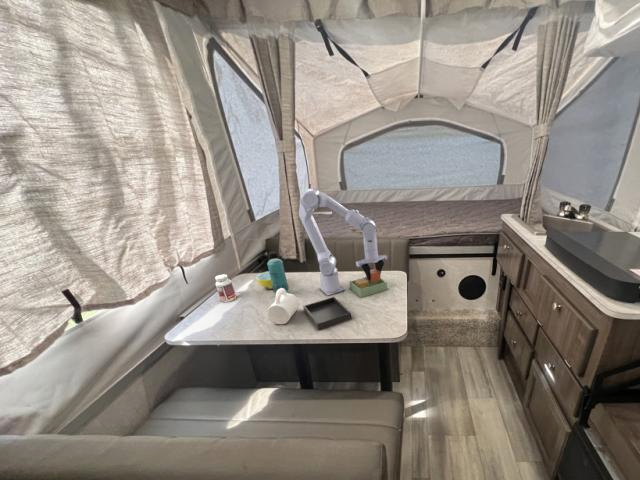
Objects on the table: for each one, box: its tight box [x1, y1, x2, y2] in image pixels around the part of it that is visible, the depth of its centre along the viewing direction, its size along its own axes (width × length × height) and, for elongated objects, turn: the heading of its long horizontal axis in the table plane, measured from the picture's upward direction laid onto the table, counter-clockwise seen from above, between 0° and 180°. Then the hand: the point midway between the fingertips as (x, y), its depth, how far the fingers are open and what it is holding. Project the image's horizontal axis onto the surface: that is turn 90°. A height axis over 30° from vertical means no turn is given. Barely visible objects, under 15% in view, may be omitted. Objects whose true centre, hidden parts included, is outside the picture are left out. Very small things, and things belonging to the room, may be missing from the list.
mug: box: [266, 288, 300, 325], centre depth 119 cm, size 8×10×12 cm
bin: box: [349, 276, 388, 298], centre depth 141 cm, size 11×13×4 cm
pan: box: [302, 296, 352, 331], centre depth 122 cm, size 17×13×2 cm
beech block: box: [355, 277, 369, 289], centre depth 139 cm, size 4×4×4 cm
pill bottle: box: [214, 273, 237, 303], centre depth 137 cm, size 6×6×11 cm
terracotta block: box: [369, 268, 382, 283], centre depth 140 cm, size 4×4×4 cm
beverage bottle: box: [266, 251, 290, 295], centre depth 136 cm, size 6×7×20 cm
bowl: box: [255, 270, 274, 290], centre depth 147 cm, size 11×12×6 cm
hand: (373, 277), depth 141 cm, fingers closed on terracotta block, 4 cm apart
